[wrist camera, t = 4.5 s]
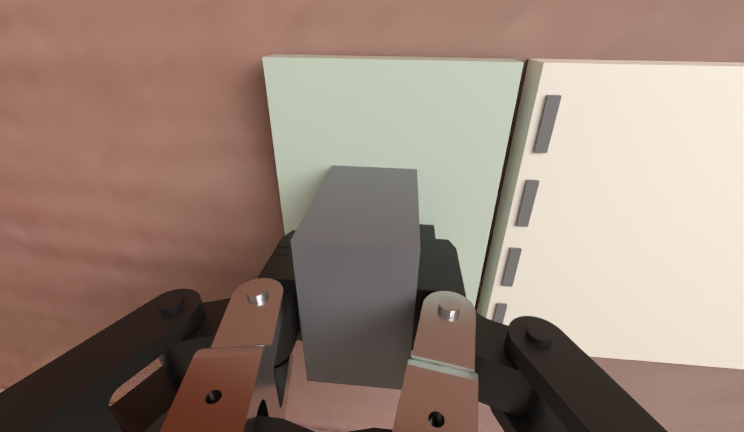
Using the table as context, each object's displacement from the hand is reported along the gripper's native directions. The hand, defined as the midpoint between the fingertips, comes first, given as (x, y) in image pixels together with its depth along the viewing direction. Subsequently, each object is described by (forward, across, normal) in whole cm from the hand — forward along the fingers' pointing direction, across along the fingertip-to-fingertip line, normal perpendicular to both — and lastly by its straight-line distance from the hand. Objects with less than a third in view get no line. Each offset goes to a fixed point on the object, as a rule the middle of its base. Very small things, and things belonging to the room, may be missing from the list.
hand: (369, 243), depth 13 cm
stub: (+2, 0, 0) cm, 2 cm away
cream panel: (+3, -13, 0) cm, 13 cm away
